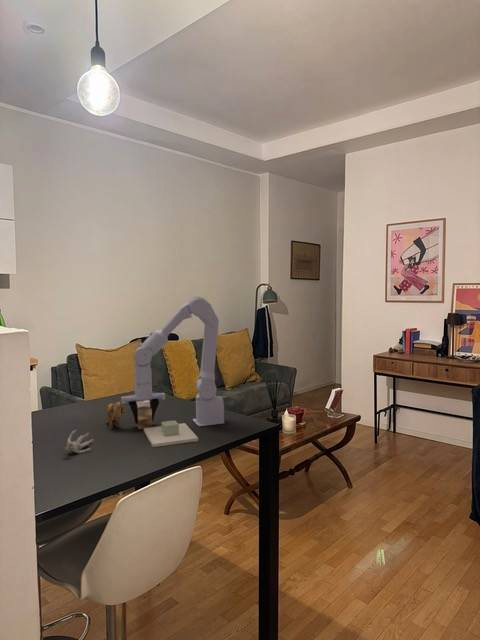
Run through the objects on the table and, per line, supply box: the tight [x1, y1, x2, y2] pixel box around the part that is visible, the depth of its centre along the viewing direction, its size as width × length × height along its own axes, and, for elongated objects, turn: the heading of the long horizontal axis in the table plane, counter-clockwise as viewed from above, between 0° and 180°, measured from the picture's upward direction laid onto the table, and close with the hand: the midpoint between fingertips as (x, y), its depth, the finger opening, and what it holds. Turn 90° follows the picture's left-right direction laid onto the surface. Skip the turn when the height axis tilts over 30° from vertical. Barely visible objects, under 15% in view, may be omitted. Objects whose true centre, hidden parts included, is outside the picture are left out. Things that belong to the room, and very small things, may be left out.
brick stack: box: [135, 406, 153, 430], centre depth 155 cm, size 5×5×6 cm
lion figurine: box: [105, 401, 127, 430], centre depth 158 cm, size 15×5×9 cm, turn 34°
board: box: [143, 419, 199, 448], centre depth 146 cm, size 14×16×4 cm
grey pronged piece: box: [62, 429, 95, 455], centre depth 134 cm, size 8×5×12 cm
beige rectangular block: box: [136, 401, 150, 407], centre depth 174 cm, size 15×11×6 cm
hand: (144, 421), depth 155 cm, fingers closed on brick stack, 5 cm apart
